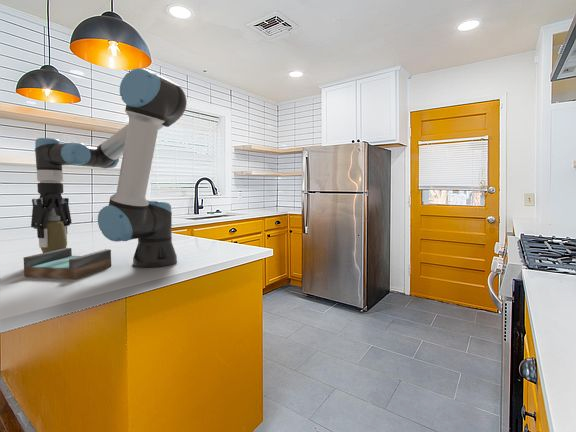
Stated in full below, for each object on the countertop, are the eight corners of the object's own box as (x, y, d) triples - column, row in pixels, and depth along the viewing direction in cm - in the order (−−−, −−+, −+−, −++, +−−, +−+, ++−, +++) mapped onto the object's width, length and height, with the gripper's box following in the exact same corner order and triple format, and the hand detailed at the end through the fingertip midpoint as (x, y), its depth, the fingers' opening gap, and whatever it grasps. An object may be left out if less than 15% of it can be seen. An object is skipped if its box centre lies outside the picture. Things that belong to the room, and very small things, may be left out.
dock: (111, 266, 116) (110, 249, 116) (75, 279, 99) (74, 259, 99) (66, 264, 118) (66, 247, 117) (24, 276, 101) (23, 257, 100)
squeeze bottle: (53, 258, 115) (50, 206, 113) (34, 257, 116) (31, 206, 115) (73, 253, 123) (70, 205, 121) (54, 253, 124) (52, 205, 123)
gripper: (63, 183, 128) (66, 240, 130) (13, 181, 108) (18, 250, 109) (81, 183, 127) (83, 241, 129) (34, 181, 107) (38, 250, 108)
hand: (53, 245), depth 119 cm, fingers closed on squeeze bottle, 8 cm apart
